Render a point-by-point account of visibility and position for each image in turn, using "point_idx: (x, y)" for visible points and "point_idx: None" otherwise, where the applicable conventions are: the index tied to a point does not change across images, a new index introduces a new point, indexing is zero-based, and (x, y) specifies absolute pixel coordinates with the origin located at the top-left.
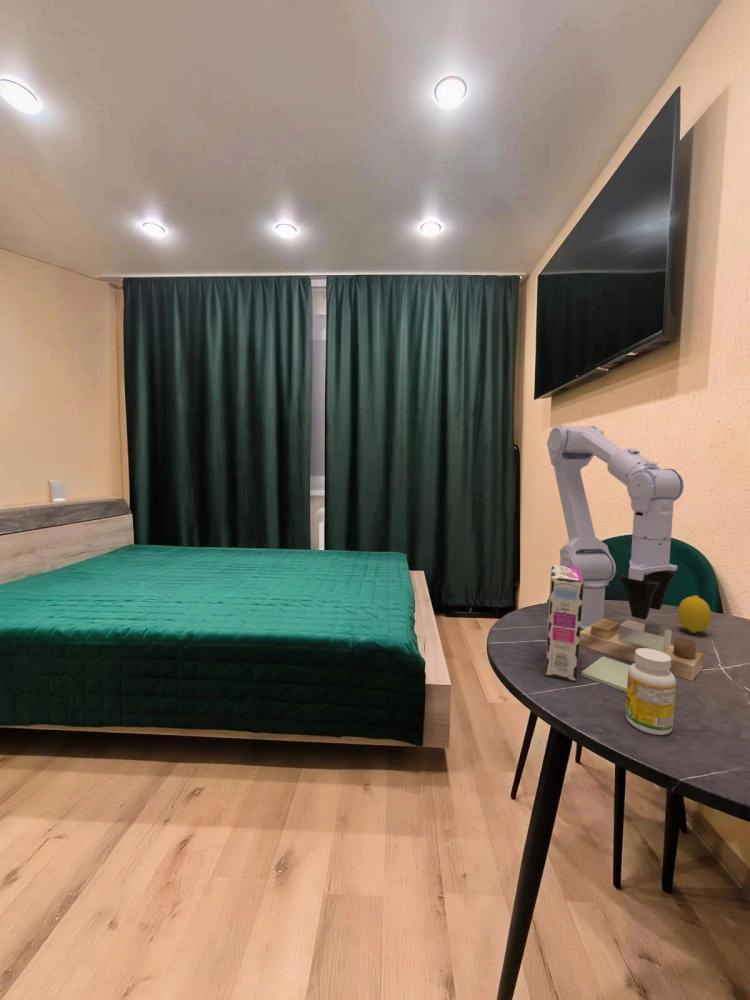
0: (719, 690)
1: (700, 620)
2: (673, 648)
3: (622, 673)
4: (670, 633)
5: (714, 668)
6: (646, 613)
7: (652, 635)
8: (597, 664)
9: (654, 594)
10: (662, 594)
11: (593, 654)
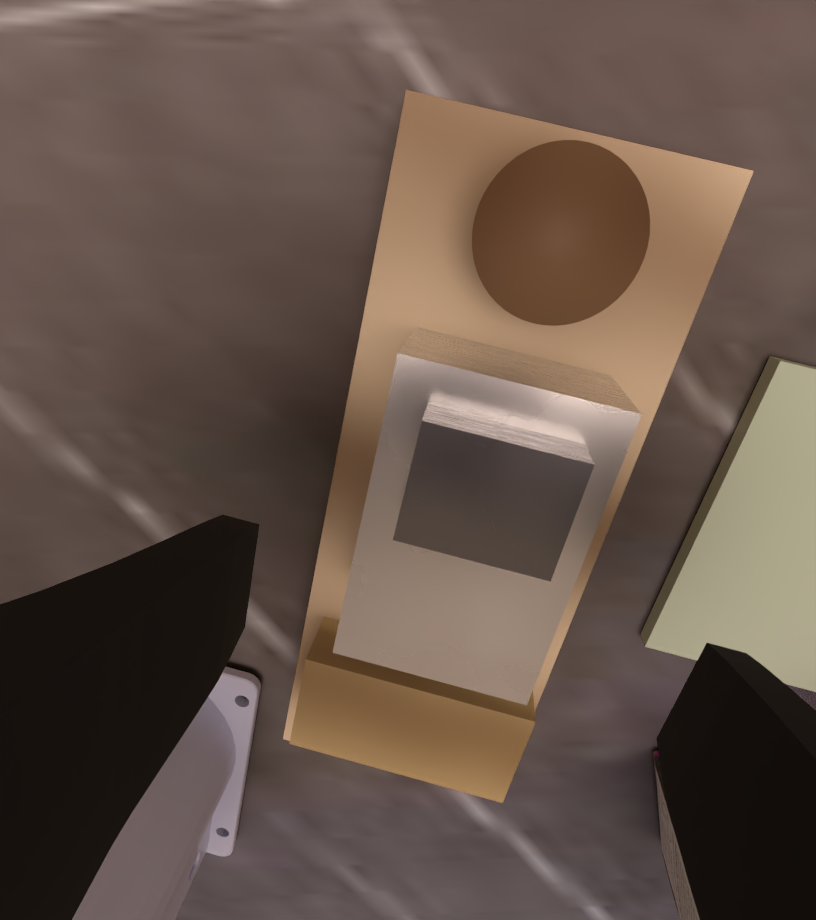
0: (786, 3)
1: None
2: (433, 307)
3: None
4: (433, 358)
5: (377, 30)
6: (804, 705)
7: (606, 493)
8: (789, 665)
9: (162, 687)
10: (150, 618)
11: (587, 671)
